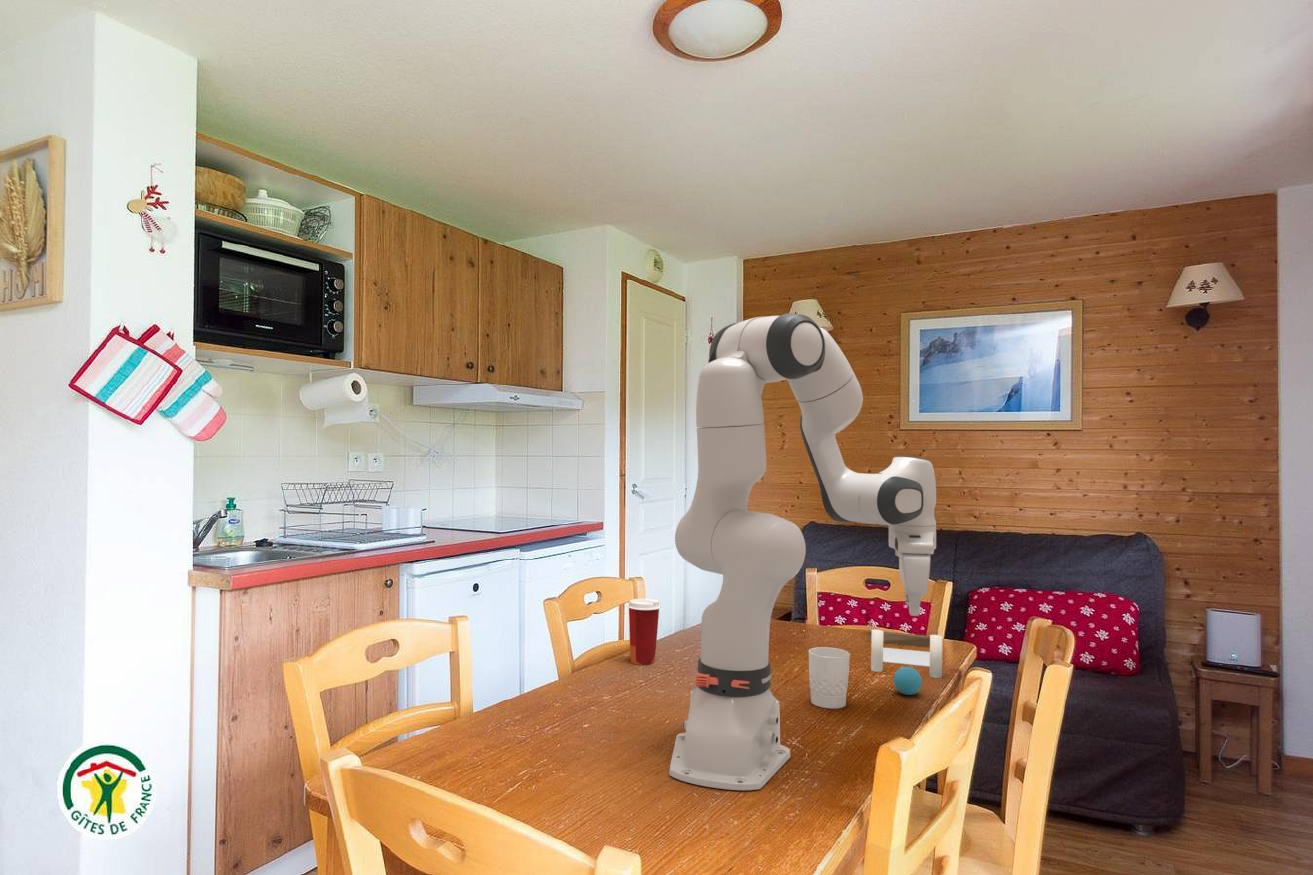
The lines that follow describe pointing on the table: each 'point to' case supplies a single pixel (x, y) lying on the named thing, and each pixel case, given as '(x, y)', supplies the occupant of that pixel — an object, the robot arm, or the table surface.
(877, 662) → the post left
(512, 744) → the table surface
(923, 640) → the stopper wall
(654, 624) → the paper cup
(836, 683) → the white cup
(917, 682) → the ball
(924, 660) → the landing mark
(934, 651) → the post right
